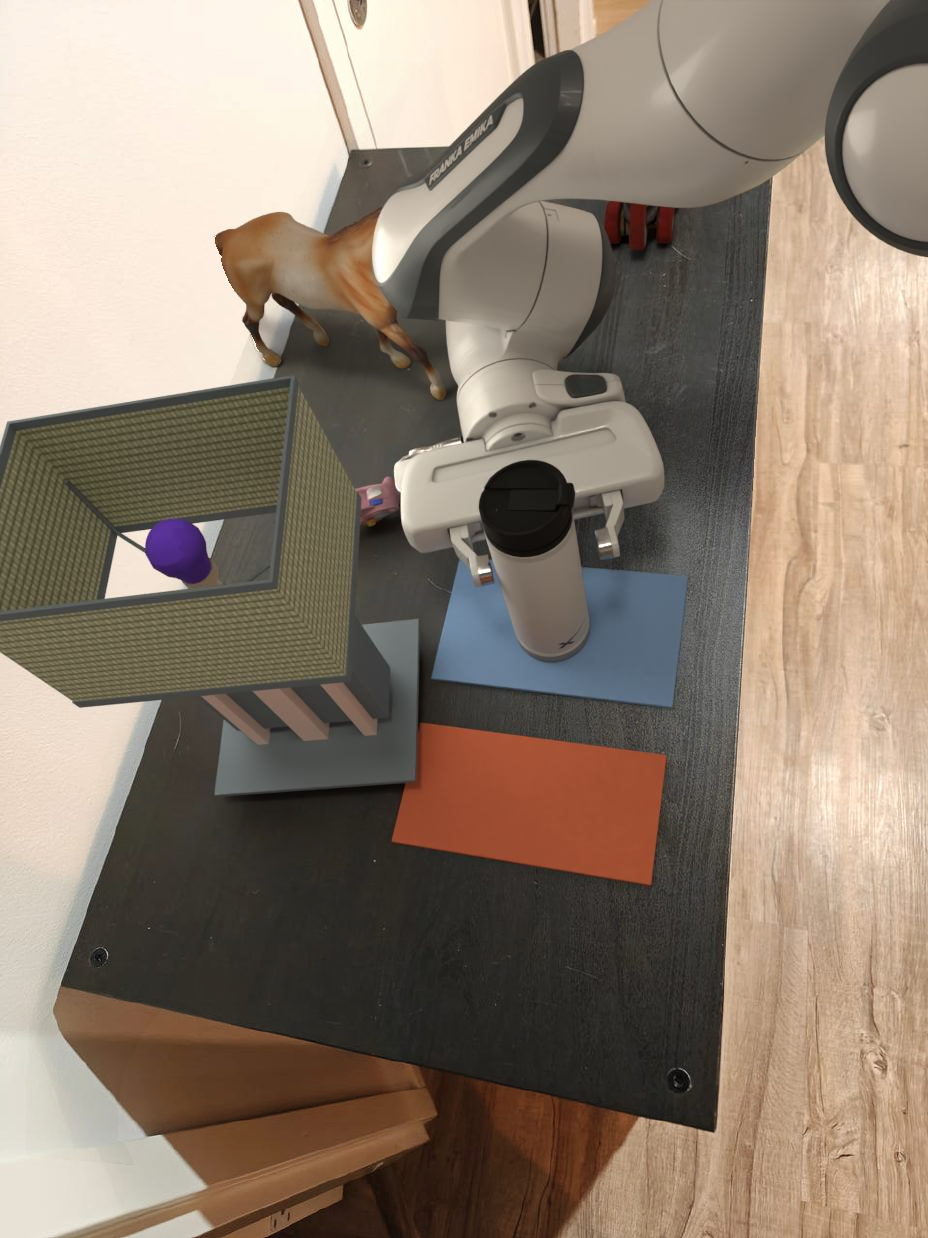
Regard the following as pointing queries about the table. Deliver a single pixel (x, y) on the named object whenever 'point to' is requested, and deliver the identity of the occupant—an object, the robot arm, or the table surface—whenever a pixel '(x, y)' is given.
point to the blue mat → (602, 669)
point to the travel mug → (537, 557)
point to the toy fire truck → (638, 223)
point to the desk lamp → (208, 583)
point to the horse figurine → (313, 280)
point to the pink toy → (378, 501)
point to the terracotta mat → (534, 802)
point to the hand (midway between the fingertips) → (546, 568)
